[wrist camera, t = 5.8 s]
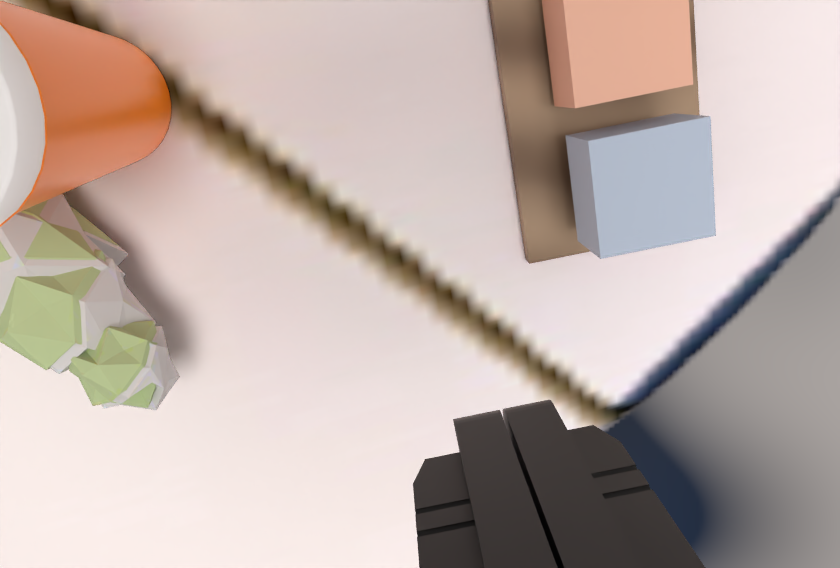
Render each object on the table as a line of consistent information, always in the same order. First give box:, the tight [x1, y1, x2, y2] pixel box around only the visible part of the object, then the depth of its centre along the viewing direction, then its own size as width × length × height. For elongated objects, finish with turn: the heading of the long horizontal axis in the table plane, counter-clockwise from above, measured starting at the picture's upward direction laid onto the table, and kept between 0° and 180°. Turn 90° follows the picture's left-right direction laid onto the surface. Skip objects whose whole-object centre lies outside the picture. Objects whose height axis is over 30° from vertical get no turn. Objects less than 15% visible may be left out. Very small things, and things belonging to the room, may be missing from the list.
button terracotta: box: [542, 0, 693, 108], centre depth 32 cm, size 6×6×4 cm
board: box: [488, 0, 699, 264], centre depth 34 cm, size 24×11×3 cm, turn 11°
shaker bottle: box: [0, 0, 171, 227], centre depth 25 cm, size 9×9×20 cm
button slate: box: [565, 113, 716, 259], centre depth 33 cm, size 6×6×4 cm
